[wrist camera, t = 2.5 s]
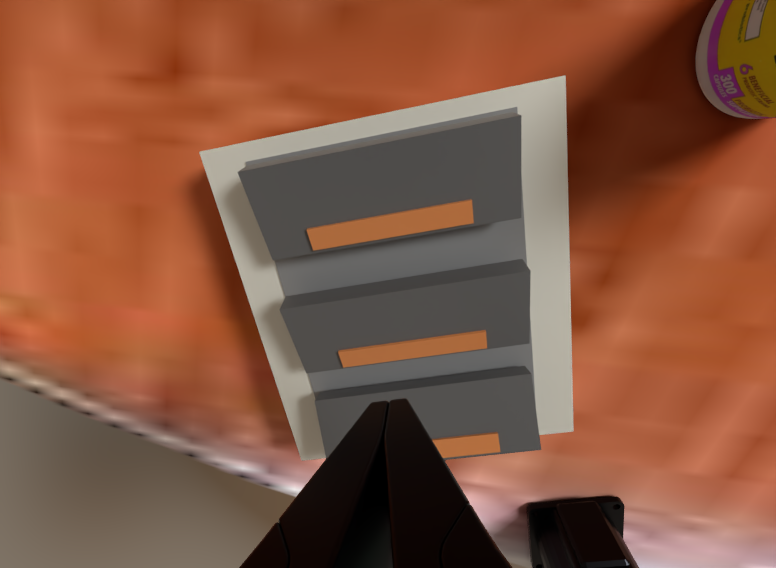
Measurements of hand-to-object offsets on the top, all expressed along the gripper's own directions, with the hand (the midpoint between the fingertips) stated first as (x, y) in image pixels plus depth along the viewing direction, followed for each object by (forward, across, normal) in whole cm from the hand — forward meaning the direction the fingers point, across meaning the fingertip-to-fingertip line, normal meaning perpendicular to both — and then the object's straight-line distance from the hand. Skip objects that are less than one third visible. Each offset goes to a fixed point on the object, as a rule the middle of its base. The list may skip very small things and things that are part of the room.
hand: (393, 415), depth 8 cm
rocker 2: (+9, 0, +2) cm, 9 cm away
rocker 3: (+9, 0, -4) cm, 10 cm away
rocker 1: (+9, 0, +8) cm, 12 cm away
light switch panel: (+13, 0, +3) cm, 13 cm away
